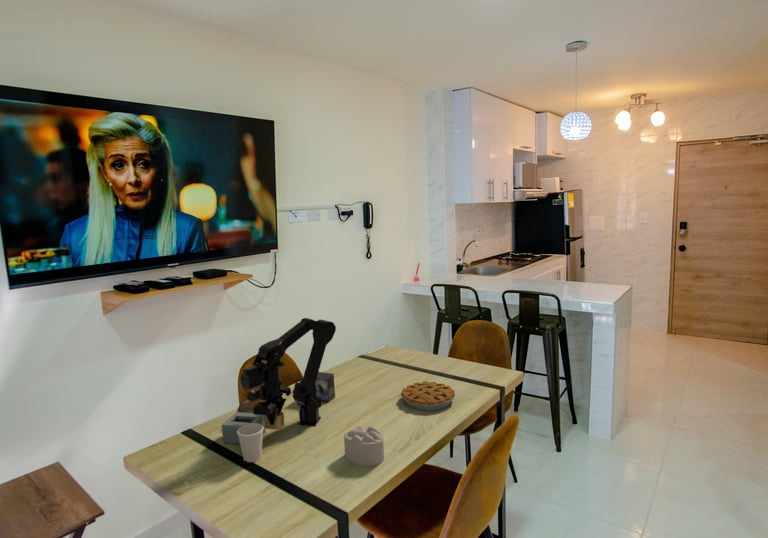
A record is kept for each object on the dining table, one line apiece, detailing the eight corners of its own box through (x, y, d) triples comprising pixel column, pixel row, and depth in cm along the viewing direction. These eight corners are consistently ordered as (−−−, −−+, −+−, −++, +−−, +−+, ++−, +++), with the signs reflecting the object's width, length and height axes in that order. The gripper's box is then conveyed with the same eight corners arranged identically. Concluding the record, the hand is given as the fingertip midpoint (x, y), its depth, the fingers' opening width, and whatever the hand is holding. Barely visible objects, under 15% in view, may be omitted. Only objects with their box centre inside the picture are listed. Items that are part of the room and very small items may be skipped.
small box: (306, 400, 199) (304, 376, 198) (314, 394, 205) (312, 370, 204) (328, 403, 195) (326, 378, 194) (335, 396, 201) (334, 373, 200)
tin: (240, 426, 177) (238, 405, 176) (236, 424, 180) (235, 402, 178) (275, 413, 188) (274, 393, 186) (271, 410, 190) (270, 390, 189)
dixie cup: (251, 467, 149) (249, 437, 148) (233, 460, 154) (231, 431, 152) (271, 454, 156) (268, 426, 155) (253, 448, 161) (251, 421, 159)
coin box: (265, 432, 172) (263, 413, 171) (252, 445, 163) (250, 426, 162) (237, 430, 175) (236, 412, 174) (223, 443, 165) (221, 424, 164)
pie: (429, 418, 179) (428, 405, 178) (390, 401, 195) (389, 389, 194) (466, 400, 193) (466, 388, 192) (427, 386, 209) (426, 375, 208)
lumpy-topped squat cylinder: (362, 443, 161) (361, 419, 160) (392, 456, 153) (391, 430, 152) (340, 456, 154) (339, 431, 152) (370, 470, 145) (369, 444, 144)
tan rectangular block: (284, 425, 168) (283, 412, 168) (280, 429, 165) (279, 416, 165) (268, 424, 170) (267, 411, 169) (265, 428, 167) (263, 415, 166)
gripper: (261, 370, 176) (265, 410, 178) (236, 390, 158) (240, 434, 160) (290, 371, 174) (292, 411, 176) (267, 391, 155) (271, 436, 158)
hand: (274, 422), depth 167 cm, fingers closed on tan rectangular block, 3 cm apart
